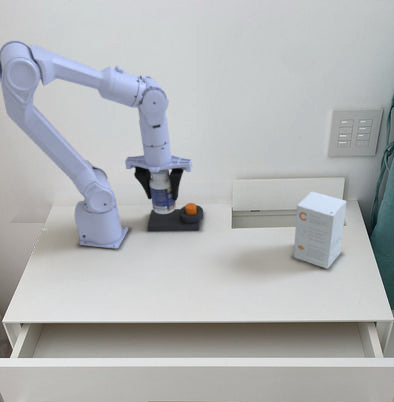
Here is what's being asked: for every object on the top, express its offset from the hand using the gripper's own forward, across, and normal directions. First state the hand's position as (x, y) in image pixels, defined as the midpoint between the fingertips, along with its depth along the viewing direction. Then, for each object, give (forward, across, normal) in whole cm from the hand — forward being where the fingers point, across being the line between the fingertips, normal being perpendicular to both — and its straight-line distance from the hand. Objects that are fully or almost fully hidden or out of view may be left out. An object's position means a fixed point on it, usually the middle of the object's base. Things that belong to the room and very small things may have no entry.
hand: (162, 197), depth 130 cm
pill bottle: (+3, 0, 0) cm, 3 cm away
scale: (+7, +2, +1) cm, 7 cm away
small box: (+7, +36, -8) cm, 37 cm away
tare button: (+4, +6, +1) cm, 7 cm away
